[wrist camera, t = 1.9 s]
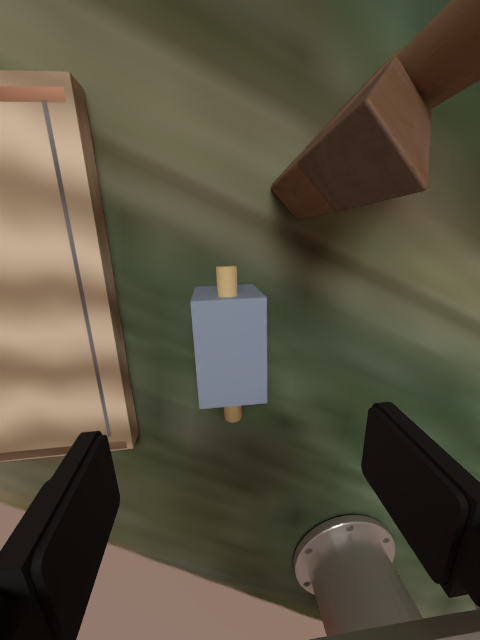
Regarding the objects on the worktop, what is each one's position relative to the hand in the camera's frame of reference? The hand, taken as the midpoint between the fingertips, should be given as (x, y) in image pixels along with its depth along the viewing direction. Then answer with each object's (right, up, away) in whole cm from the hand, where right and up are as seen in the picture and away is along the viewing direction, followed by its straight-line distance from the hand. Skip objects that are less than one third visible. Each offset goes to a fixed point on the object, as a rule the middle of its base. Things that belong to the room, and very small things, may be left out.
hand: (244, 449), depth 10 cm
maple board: (-16, +7, +12) cm, 22 cm away
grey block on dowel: (-1, +4, +15) cm, 16 cm away
